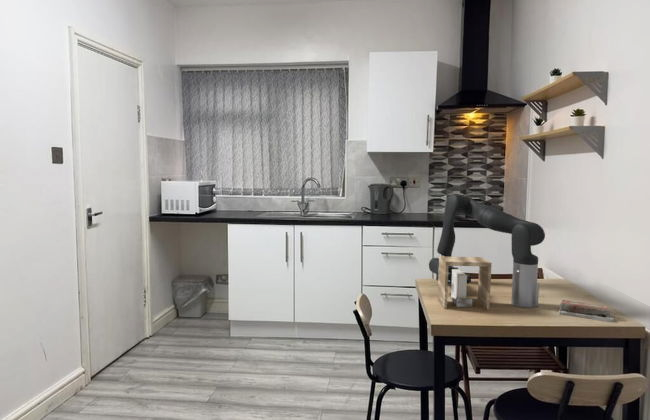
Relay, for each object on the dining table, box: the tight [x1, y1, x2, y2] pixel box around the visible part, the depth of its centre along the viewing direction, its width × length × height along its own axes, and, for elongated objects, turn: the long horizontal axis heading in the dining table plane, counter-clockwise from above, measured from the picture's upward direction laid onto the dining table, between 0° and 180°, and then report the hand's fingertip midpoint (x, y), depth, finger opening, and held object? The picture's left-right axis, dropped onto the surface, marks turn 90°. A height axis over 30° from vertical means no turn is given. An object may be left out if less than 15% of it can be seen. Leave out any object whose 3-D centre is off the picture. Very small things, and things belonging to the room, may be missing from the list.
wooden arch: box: [437, 255, 492, 311], centre depth 191 cm, size 18×12×18 cm
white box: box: [450, 268, 468, 299], centre depth 198 cm, size 3×12×12 cm, turn 179°
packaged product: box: [558, 299, 615, 323], centre depth 181 cm, size 18×5×10 cm
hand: (457, 281), depth 201 cm, fingers open, 8 cm apart
